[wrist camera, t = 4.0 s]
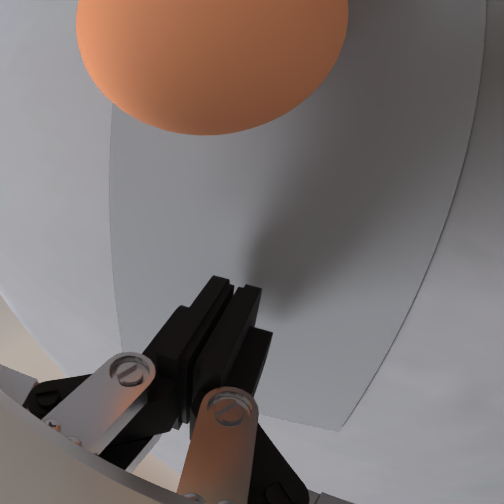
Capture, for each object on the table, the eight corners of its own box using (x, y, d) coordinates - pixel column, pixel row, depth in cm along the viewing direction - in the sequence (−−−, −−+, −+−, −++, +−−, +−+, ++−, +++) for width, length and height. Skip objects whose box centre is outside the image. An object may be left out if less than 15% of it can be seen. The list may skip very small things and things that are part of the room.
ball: (395, -50, 2) (350, 177, 8) (324, -130, 3) (333, 22, 8) (-32, 66, 3) (130, 184, 9) (93, -81, 4) (166, 38, 10)
